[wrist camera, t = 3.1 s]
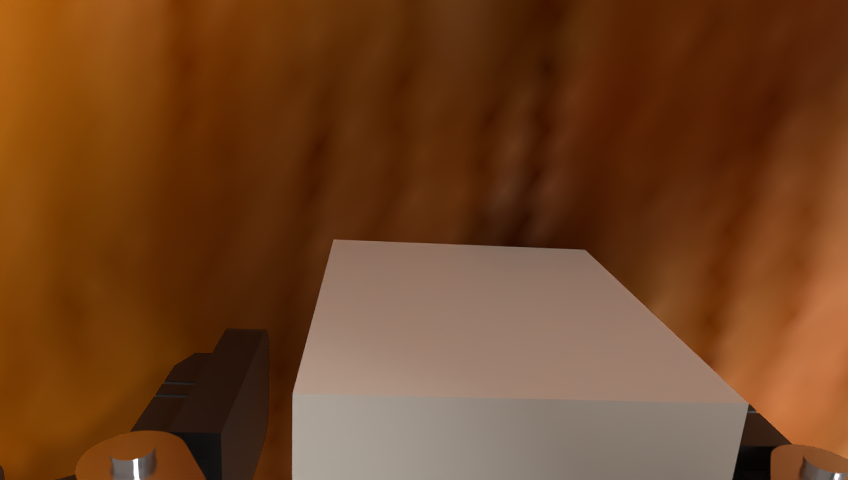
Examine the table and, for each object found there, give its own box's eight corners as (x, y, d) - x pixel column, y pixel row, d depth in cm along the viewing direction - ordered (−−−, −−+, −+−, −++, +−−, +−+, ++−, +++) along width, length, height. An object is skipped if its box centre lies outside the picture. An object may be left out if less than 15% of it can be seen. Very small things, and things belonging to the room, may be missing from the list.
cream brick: (584, 248, 13) (748, 404, 7) (555, 464, 14) (674, 742, 8) (333, 238, 12) (293, 393, 7) (328, 461, 14) (290, 749, 8)
